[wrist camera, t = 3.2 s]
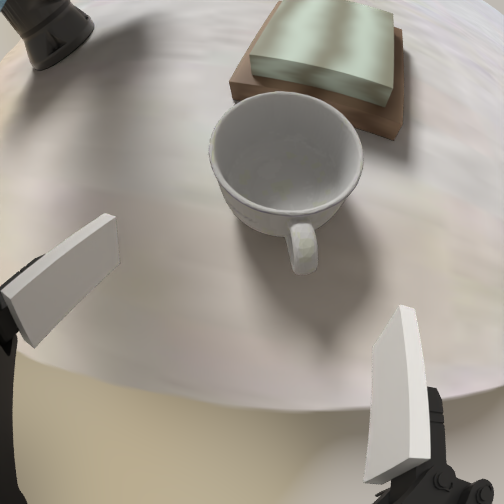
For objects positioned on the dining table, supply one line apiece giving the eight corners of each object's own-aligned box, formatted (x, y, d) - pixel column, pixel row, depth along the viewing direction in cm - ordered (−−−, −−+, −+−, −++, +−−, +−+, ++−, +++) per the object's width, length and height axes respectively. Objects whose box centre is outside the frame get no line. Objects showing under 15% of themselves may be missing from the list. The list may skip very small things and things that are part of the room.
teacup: (232, 141, 29) (219, 87, 21) (341, 146, 27) (356, 93, 20) (217, 280, 25) (191, 262, 18) (344, 287, 24) (373, 271, 17)
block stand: (232, 99, 30) (224, 61, 24) (279, 15, 34) (278, -15, 28) (393, 140, 27) (412, 106, 21) (397, 43, 31) (406, 14, 25)
